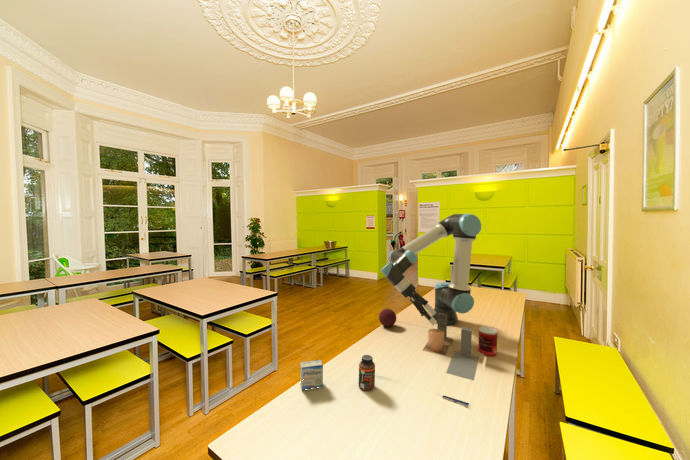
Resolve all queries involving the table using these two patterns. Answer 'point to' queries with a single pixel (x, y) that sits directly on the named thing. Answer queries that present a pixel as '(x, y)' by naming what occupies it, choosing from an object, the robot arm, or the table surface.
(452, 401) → the hard drive
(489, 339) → the canned food
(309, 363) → the medicine box
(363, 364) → the supplement bottle
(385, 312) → the decorative ball
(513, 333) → the table surface
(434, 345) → the peach capsule shape
